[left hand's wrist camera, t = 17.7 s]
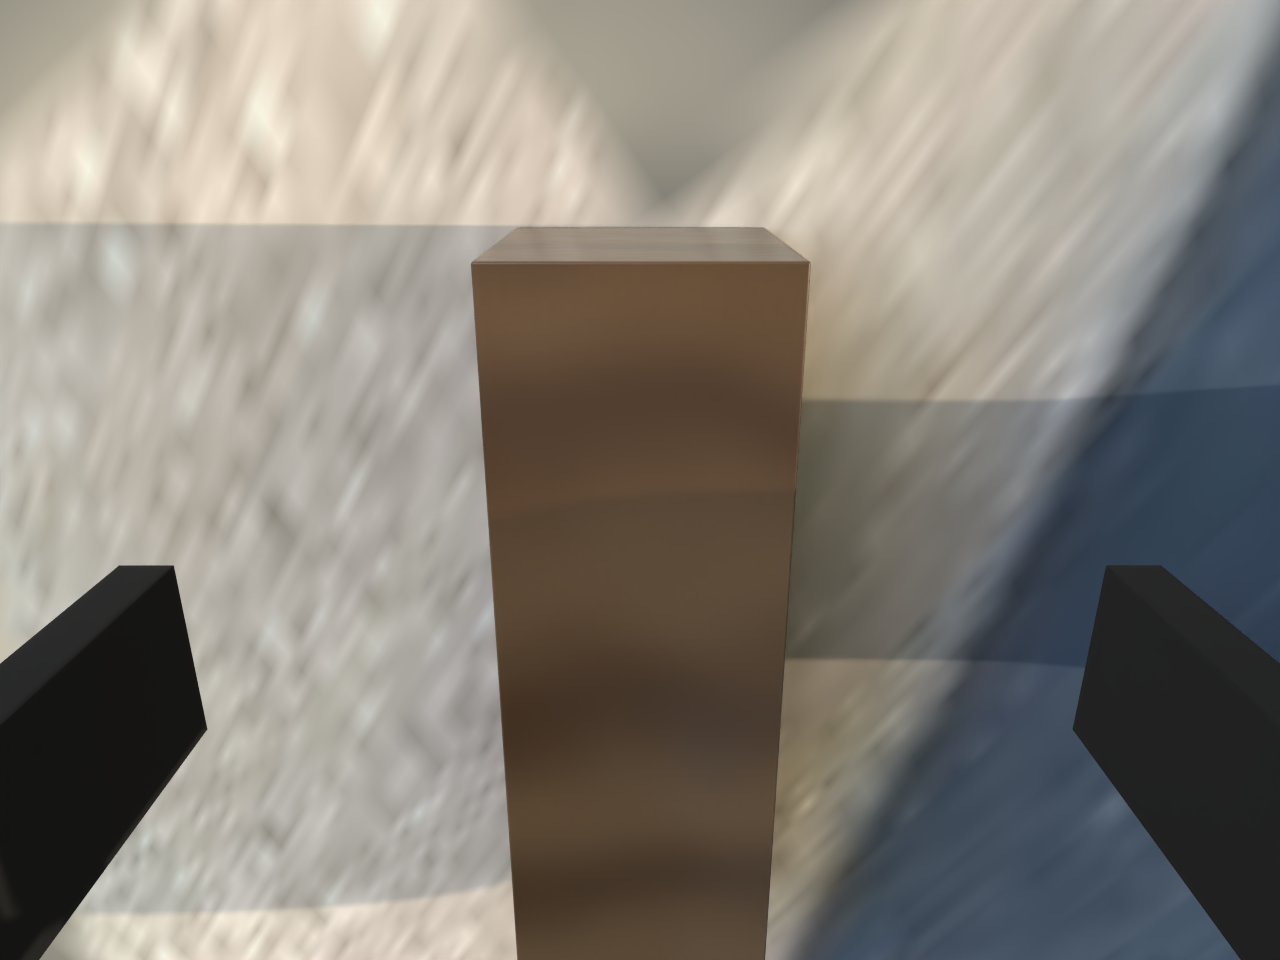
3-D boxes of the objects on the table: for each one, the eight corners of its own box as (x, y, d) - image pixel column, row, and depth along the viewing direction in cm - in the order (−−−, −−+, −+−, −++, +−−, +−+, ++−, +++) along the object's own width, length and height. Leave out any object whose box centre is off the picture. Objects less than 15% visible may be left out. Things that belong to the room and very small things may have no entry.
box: (515, 227, 32) (470, 261, 24) (765, 227, 32) (811, 261, 24) (545, 830, 42) (520, 1011, 33) (736, 830, 42) (761, 1011, 33)
